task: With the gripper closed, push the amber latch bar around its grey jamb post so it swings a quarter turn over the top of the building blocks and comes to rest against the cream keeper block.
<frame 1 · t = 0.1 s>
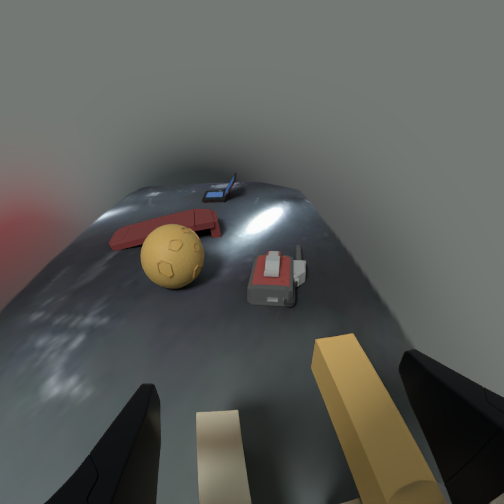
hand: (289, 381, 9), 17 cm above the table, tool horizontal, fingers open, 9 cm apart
handheld game console: (220, 198, 98), on the table
walkie-talkie: (279, 278, 50), on the table
stress ball: (176, 286, 48), on the table
latch bar: (372, 437, 14), point 8 cm above the table, hinge at 0.0°
dark red piece: (165, 238, 68), on the table
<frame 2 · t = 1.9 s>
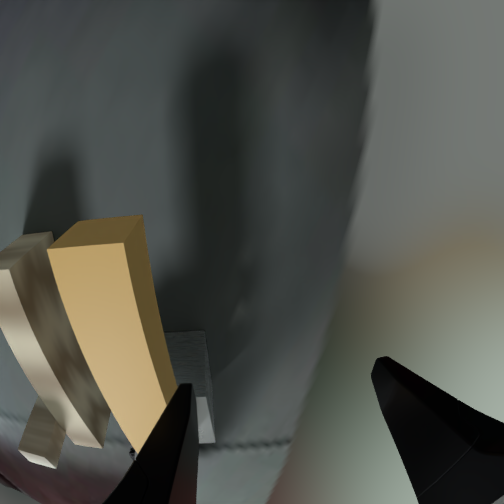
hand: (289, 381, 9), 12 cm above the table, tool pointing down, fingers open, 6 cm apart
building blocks: (68, 332, 21), on the table
jamb post: (173, 359, 24), on the table
latch bar: (141, 385, 13), point 9 cm above the table, hinge at 0.0°
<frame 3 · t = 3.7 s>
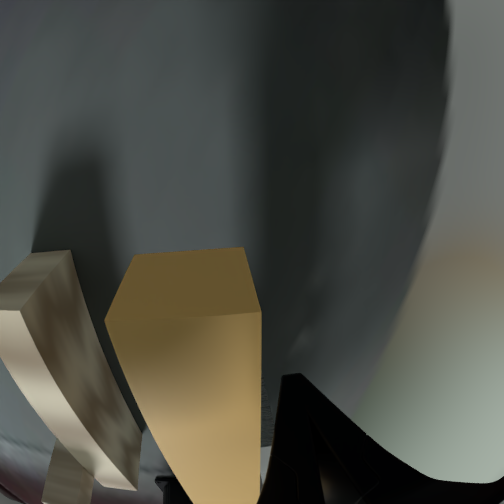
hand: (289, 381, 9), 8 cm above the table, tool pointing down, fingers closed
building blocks: (91, 367, 18), on the table
jamb post: (218, 392, 20), on the table
latch bar: (217, 453, 10), point 9 cm above the table, hinge at 0.2°, touching gripper
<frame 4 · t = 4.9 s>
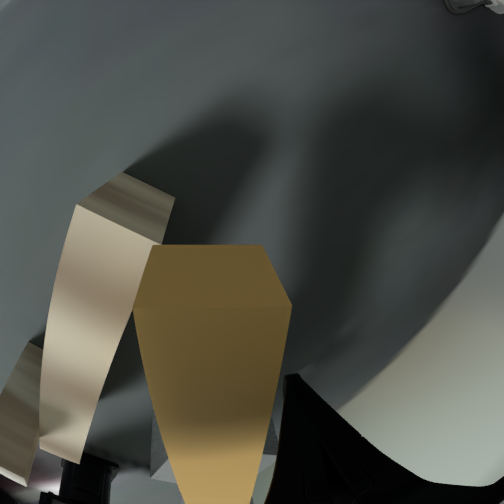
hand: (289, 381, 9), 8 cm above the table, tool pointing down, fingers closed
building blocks: (95, 319, 16), on the table
sphere: (1, 492, 32), on the table
jamb post: (205, 392, 20), on the table
latch bar: (212, 450, 10), point 9 cm above the table, hinge at 26.4°, touching gripper
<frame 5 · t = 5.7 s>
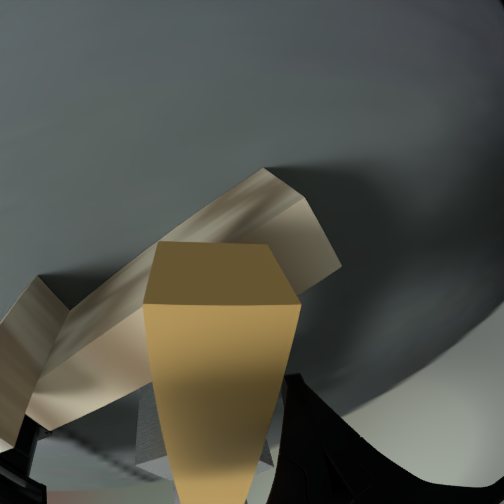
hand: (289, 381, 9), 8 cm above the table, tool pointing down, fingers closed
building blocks: (141, 286, 16), on the table
jamb post: (198, 391, 20), on the table
latch bar: (209, 449, 10), point 9 cm above the table, hinge at 51.2°, touching gripper
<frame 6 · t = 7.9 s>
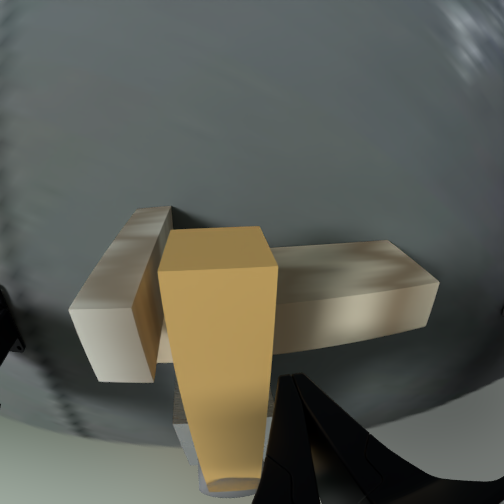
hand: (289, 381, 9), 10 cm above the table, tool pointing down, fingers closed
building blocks: (259, 270, 19), on the table
jamb post: (221, 374, 22), on the table
latch bar: (226, 415, 12), point 9 cm above the table, hinge at 88.4°
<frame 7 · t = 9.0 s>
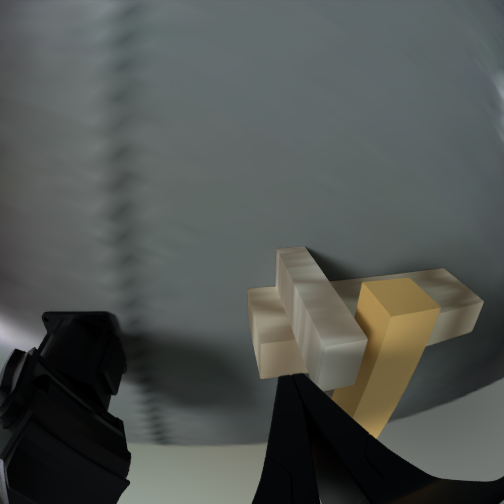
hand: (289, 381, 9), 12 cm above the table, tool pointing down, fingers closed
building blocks: (359, 294, 23), on the table
latch bar: (362, 403, 16), point 9 cm above the table, hinge at 88.4°
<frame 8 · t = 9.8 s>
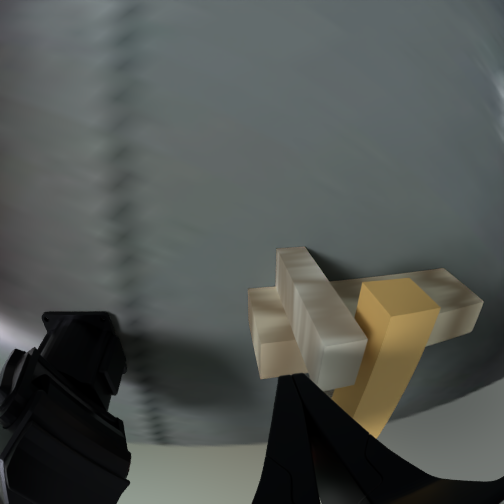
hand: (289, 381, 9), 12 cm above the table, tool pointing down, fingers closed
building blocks: (359, 294, 23), on the table
latch bar: (362, 403, 16), point 9 cm above the table, hinge at 88.4°
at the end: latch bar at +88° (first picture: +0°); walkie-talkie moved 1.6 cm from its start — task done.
